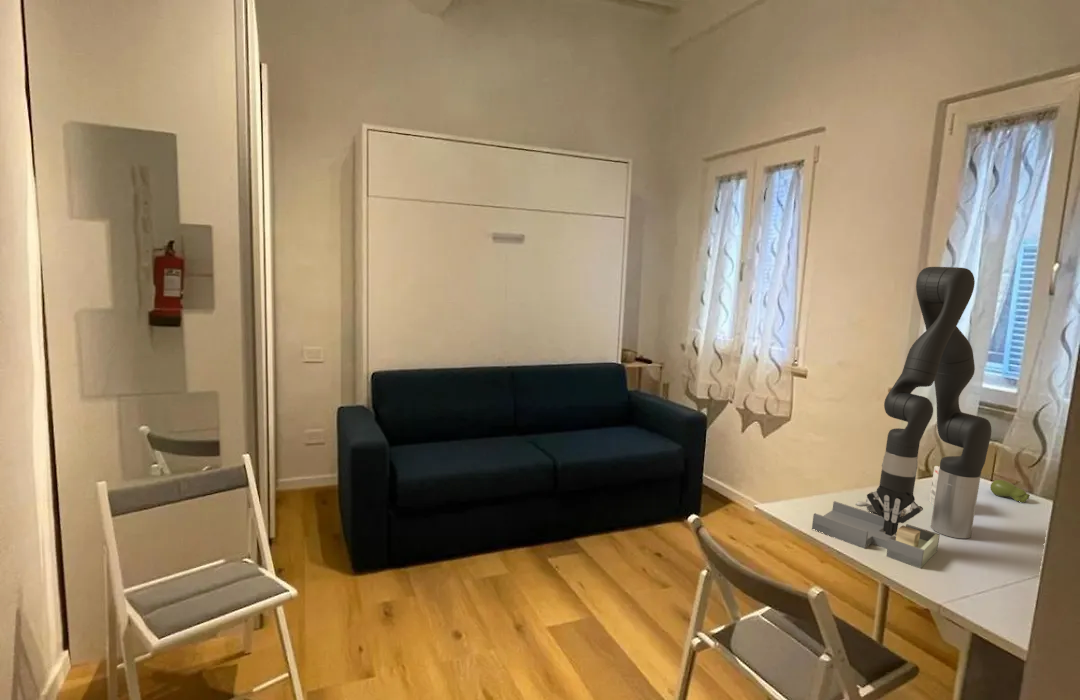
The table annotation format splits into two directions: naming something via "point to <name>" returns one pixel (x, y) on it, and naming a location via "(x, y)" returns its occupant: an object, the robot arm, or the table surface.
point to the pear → (1008, 490)
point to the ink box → (934, 484)
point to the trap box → (874, 534)
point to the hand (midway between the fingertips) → (889, 534)
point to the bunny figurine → (868, 505)
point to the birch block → (908, 536)
